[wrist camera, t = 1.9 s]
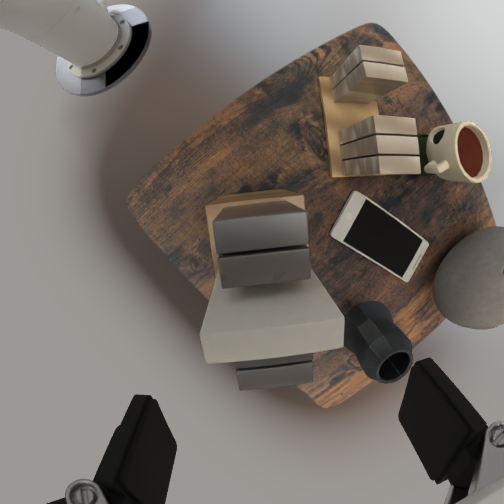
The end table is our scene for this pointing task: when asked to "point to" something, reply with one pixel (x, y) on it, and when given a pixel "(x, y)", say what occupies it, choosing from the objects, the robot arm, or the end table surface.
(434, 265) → the end table surface
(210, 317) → the grey flat block
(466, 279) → the grey oval stone
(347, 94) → the grey-brown wooden block stand
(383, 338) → the mug
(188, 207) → the end table surface
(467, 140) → the character mug
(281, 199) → the wooden stand
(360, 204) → the smartphone
